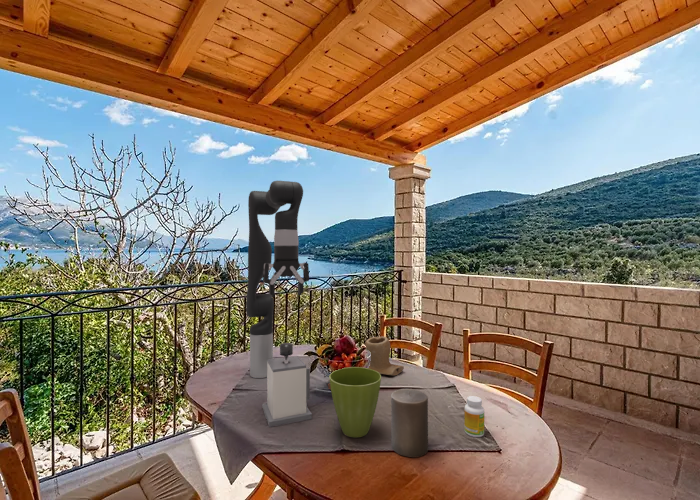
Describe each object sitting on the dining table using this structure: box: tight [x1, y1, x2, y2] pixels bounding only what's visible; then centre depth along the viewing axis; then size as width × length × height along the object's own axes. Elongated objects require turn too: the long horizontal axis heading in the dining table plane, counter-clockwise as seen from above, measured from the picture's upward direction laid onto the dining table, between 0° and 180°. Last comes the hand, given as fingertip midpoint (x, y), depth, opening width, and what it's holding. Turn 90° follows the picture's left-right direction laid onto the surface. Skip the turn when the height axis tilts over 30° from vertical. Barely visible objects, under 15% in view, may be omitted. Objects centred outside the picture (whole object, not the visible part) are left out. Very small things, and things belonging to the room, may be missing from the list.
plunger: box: [279, 342, 294, 364], centre depth 112 cm, size 8×8×19 cm
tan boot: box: [364, 335, 404, 376], centre depth 148 cm, size 15×12×15 cm
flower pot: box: [328, 366, 382, 438], centre depth 102 cm, size 15×15×16 cm
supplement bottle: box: [463, 395, 485, 438], centre depth 101 cm, size 5×5×10 cm
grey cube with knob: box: [262, 355, 313, 428], centre depth 112 cm, size 13×14×16 cm
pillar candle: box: [390, 388, 429, 458], centre depth 93 cm, size 10×10×15 cm
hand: (286, 295), depth 111 cm, fingers open, 8 cm apart
